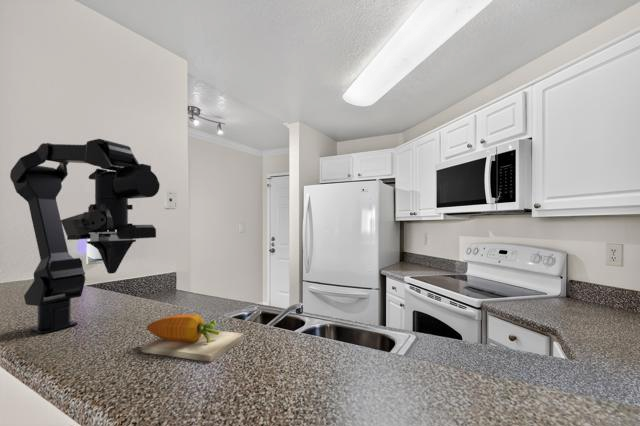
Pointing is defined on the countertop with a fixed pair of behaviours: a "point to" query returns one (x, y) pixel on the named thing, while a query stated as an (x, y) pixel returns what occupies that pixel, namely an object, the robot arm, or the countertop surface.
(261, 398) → the countertop surface
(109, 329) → the countertop surface
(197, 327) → the carrot
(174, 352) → the cutting board
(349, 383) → the countertop surface
